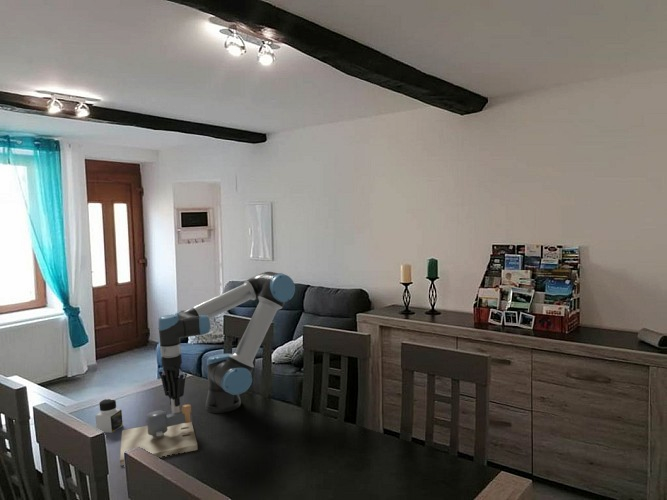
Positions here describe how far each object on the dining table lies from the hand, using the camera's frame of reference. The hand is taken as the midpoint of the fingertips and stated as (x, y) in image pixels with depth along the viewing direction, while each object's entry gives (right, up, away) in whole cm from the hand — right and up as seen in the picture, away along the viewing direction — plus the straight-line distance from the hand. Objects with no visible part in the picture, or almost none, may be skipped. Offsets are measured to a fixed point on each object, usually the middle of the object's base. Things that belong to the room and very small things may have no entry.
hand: (175, 413), depth 197 cm
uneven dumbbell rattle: (0, -4, -5) cm, 7 cm away
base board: (-4, -8, -7) cm, 12 cm away
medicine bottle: (-29, -9, +7) cm, 31 cm away
